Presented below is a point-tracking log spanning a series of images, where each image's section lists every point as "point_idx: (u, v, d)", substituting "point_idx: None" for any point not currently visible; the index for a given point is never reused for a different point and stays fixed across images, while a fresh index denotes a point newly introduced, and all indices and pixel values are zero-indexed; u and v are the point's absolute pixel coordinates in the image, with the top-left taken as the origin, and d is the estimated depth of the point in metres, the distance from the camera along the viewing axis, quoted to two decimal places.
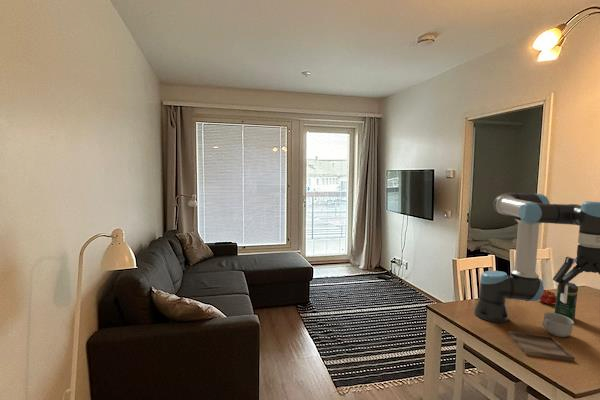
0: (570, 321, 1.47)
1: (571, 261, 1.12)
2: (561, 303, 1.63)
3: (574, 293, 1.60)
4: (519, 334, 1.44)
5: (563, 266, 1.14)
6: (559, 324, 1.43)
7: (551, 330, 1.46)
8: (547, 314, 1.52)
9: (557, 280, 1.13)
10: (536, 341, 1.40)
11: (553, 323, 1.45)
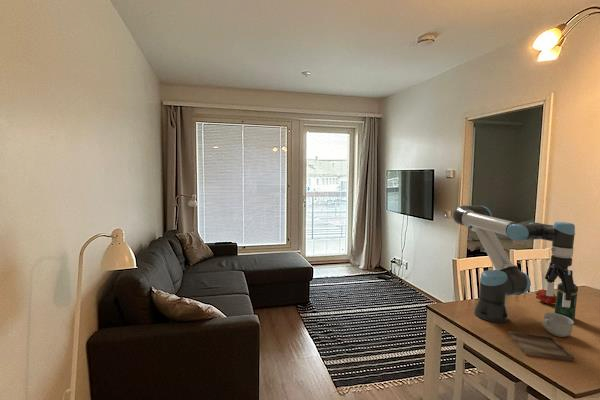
0: (570, 321, 1.47)
1: (550, 264, 1.52)
2: (561, 303, 1.63)
3: None
4: (519, 334, 1.44)
5: None
6: (559, 324, 1.43)
7: (551, 330, 1.46)
8: (547, 314, 1.52)
9: (545, 277, 1.56)
10: (536, 341, 1.40)
11: (553, 323, 1.45)
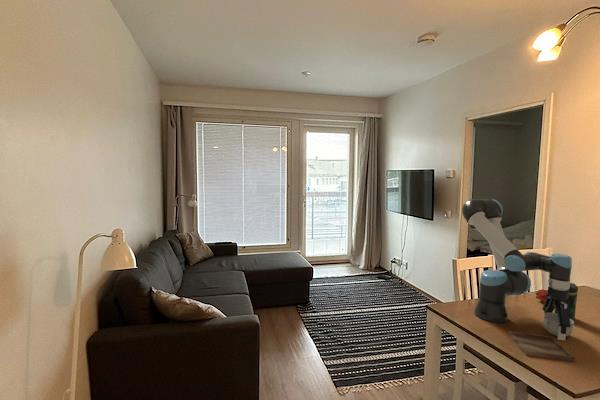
0: (570, 321, 1.47)
1: (547, 295, 1.53)
2: None
3: (574, 293, 1.60)
4: (519, 334, 1.44)
5: None
6: None
7: (551, 330, 1.46)
8: (547, 314, 1.52)
9: None
10: (536, 341, 1.40)
11: (553, 323, 1.45)
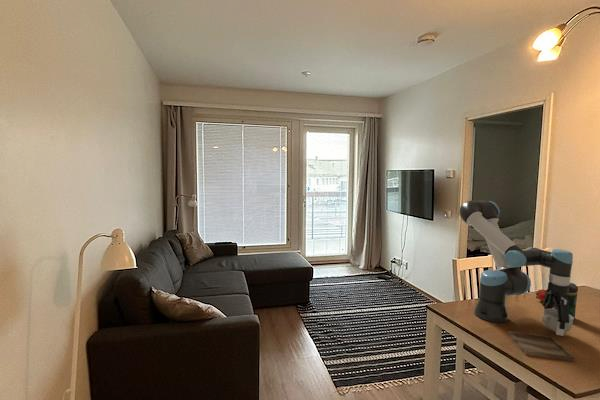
0: (570, 317, 1.47)
1: (547, 291, 1.53)
2: None
3: (574, 293, 1.60)
4: (519, 334, 1.44)
5: None
6: None
7: (551, 326, 1.46)
8: (547, 310, 1.52)
9: (542, 304, 1.56)
10: (536, 341, 1.40)
11: (553, 319, 1.45)
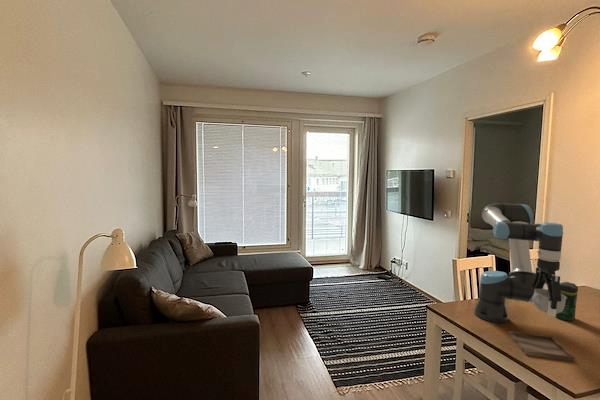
0: (562, 297, 1.33)
1: (536, 269, 1.40)
2: None
3: (574, 293, 1.60)
4: (519, 334, 1.44)
5: None
6: None
7: (542, 307, 1.32)
8: (537, 290, 1.39)
9: (532, 285, 1.43)
10: (536, 341, 1.40)
11: (544, 299, 1.32)
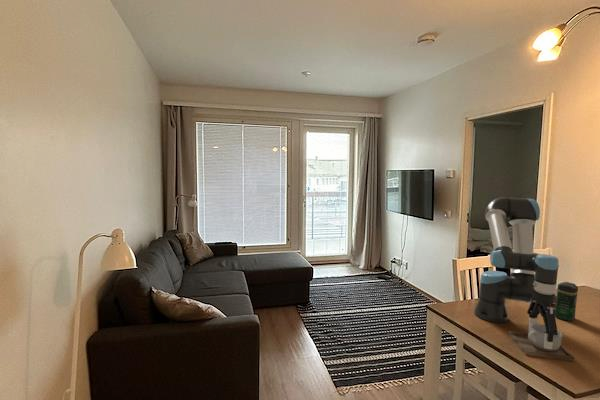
0: (558, 334, 1.33)
1: (532, 299, 1.40)
2: (561, 303, 1.63)
3: (574, 293, 1.60)
4: (519, 334, 1.44)
5: None
6: None
7: (538, 344, 1.32)
8: (533, 326, 1.38)
9: (527, 311, 1.45)
10: None
11: (540, 336, 1.31)
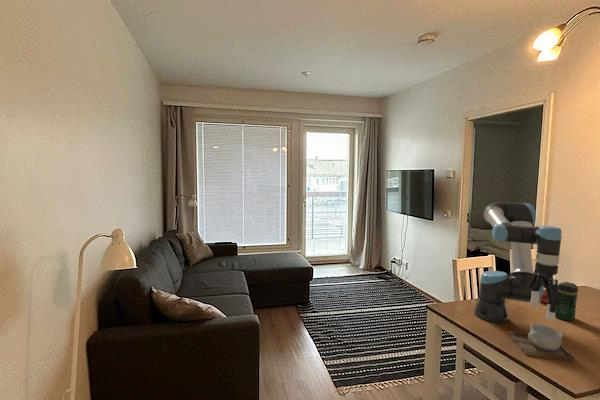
0: (558, 334, 1.33)
1: (535, 272, 1.39)
2: (561, 303, 1.63)
3: (574, 293, 1.60)
4: (519, 334, 1.44)
5: None
6: (546, 337, 1.29)
7: (538, 344, 1.32)
8: (534, 326, 1.38)
9: (529, 285, 1.44)
10: None
11: (540, 336, 1.31)
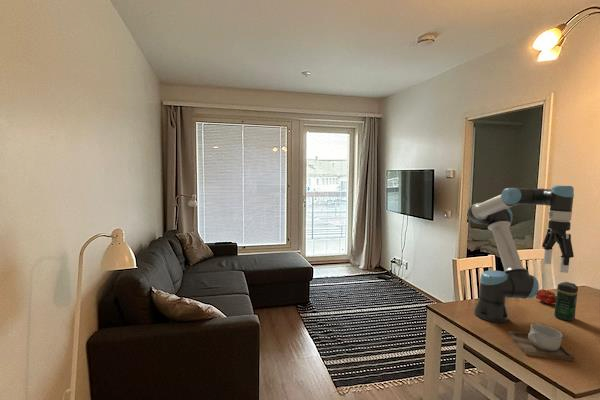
0: (558, 334, 1.33)
1: (547, 231, 1.46)
2: (561, 303, 1.63)
3: (574, 293, 1.60)
4: (519, 334, 1.44)
5: None
6: (546, 337, 1.29)
7: (538, 344, 1.32)
8: (534, 326, 1.38)
9: (542, 245, 1.50)
10: None
11: (540, 336, 1.31)
